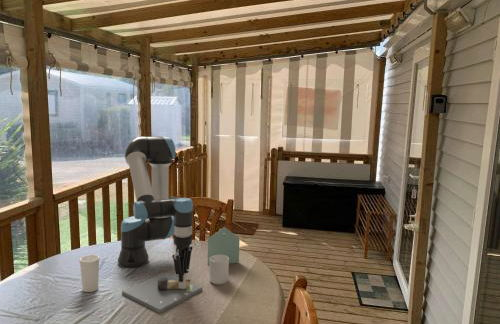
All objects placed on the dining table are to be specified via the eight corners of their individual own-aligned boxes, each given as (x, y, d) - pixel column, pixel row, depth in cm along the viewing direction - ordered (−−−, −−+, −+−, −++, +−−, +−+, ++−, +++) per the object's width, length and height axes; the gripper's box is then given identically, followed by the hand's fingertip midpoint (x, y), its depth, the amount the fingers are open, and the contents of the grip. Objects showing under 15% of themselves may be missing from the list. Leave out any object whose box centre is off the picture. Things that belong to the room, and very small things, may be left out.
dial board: (122, 294, 159) (121, 290, 159) (165, 275, 178) (165, 271, 178) (159, 313, 145) (159, 309, 145) (202, 290, 164) (202, 286, 164)
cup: (104, 287, 164) (103, 256, 162) (91, 295, 157) (90, 263, 155) (89, 283, 167) (88, 253, 165) (76, 291, 160) (74, 260, 158)
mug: (226, 286, 169) (227, 262, 168) (207, 284, 170) (208, 261, 168) (230, 274, 181) (231, 252, 180) (212, 273, 182) (213, 251, 180)
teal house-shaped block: (236, 257, 203) (237, 222, 200) (238, 263, 195) (240, 226, 192) (206, 258, 200) (207, 222, 197) (207, 264, 192) (208, 227, 190)
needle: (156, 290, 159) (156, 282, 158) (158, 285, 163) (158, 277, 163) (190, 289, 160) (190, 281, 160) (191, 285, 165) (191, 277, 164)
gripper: (182, 240, 150) (181, 296, 153) (198, 231, 162) (197, 283, 165) (166, 237, 152) (166, 292, 155) (183, 229, 164) (182, 280, 167)
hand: (182, 287), depth 160 cm, fingers closed
